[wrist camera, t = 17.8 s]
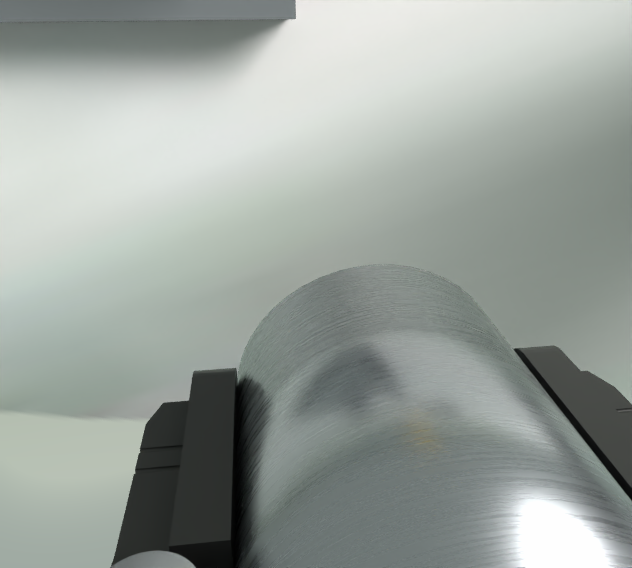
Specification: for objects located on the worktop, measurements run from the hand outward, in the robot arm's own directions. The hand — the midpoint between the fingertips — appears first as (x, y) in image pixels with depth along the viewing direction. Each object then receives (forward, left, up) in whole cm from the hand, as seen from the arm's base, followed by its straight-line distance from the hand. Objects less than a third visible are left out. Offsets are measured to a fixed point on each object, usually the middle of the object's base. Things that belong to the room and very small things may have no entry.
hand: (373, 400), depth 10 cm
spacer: (0, 0, 0) cm, 0 cm away
